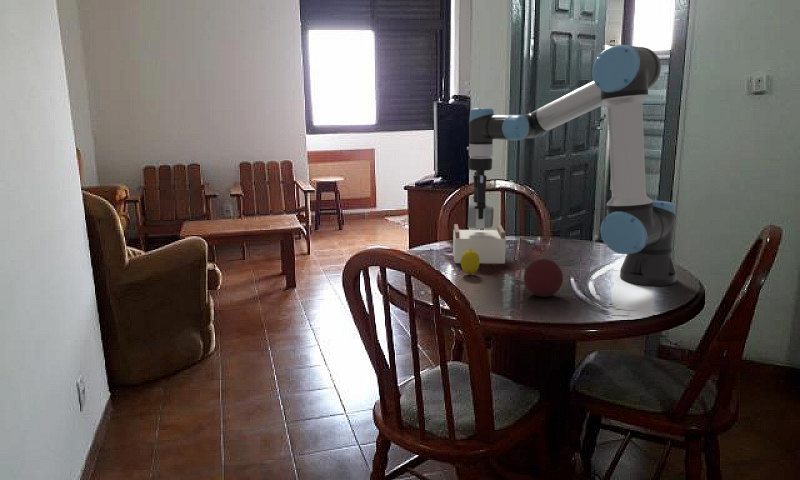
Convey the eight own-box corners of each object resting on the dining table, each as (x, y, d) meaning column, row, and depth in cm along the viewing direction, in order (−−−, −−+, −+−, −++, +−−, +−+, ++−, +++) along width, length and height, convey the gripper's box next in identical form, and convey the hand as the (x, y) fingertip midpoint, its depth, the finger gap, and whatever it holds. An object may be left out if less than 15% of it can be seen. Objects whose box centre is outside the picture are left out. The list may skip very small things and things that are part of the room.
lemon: (456, 275, 187) (457, 249, 186) (468, 271, 191) (468, 246, 189) (471, 278, 184) (472, 252, 182) (482, 274, 188) (483, 248, 186)
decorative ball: (530, 288, 174) (532, 253, 172) (566, 293, 169) (568, 257, 167) (518, 298, 165) (519, 261, 163) (555, 304, 160) (557, 266, 158)
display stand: (505, 263, 200) (505, 232, 198) (454, 263, 201) (455, 232, 199) (500, 253, 214) (501, 224, 212) (453, 252, 215) (453, 224, 213)
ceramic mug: (493, 230, 200) (494, 206, 198) (467, 229, 201) (468, 205, 199) (491, 224, 210) (492, 201, 209) (467, 224, 211) (467, 201, 209)
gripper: (466, 154, 212) (465, 218, 217) (470, 160, 189) (469, 232, 194) (488, 154, 212) (487, 218, 216) (495, 160, 189) (493, 232, 194)
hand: (478, 225), depth 205 cm, fingers closed on ceramic mug, 11 cm apart
